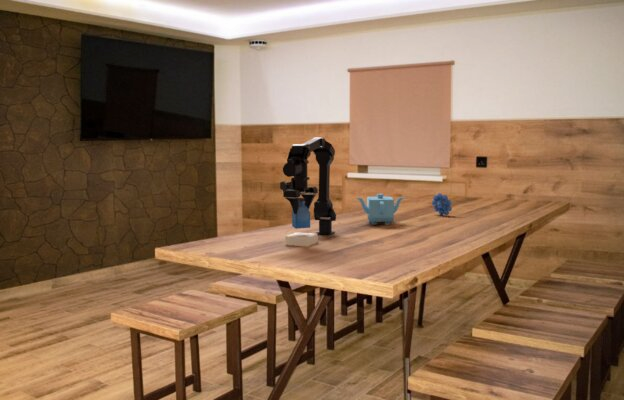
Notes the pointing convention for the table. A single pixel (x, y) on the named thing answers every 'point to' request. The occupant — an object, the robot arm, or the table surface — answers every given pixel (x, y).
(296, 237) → the cream block
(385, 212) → the teakettle
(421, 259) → the table surface
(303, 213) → the perfume bottle
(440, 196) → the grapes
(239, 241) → the table surface
